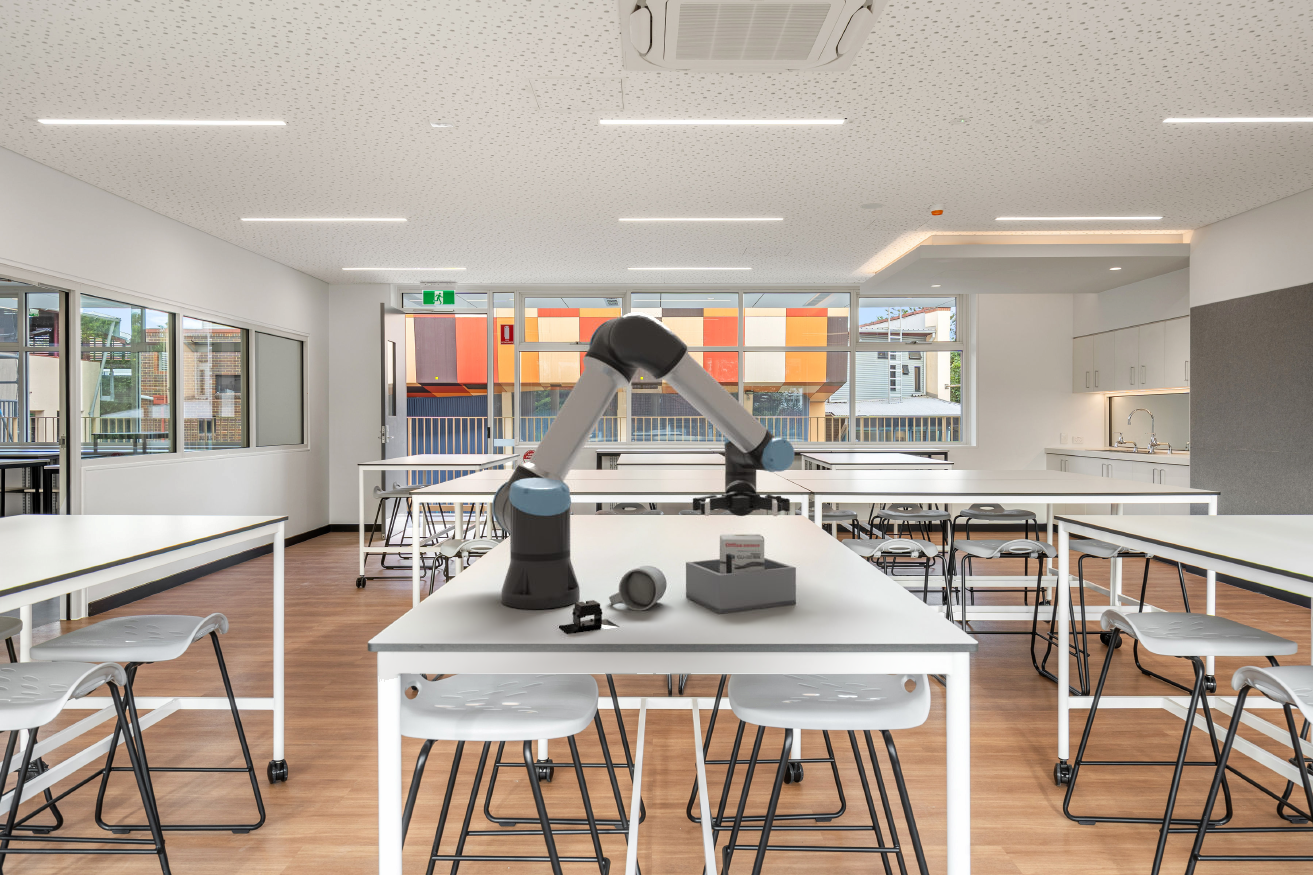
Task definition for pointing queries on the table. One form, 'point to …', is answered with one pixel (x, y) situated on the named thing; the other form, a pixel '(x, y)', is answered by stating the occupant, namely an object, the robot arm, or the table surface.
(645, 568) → the ceramic mug
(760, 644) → the table surface
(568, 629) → the black angular piece
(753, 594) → the bin
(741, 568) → the ink box
